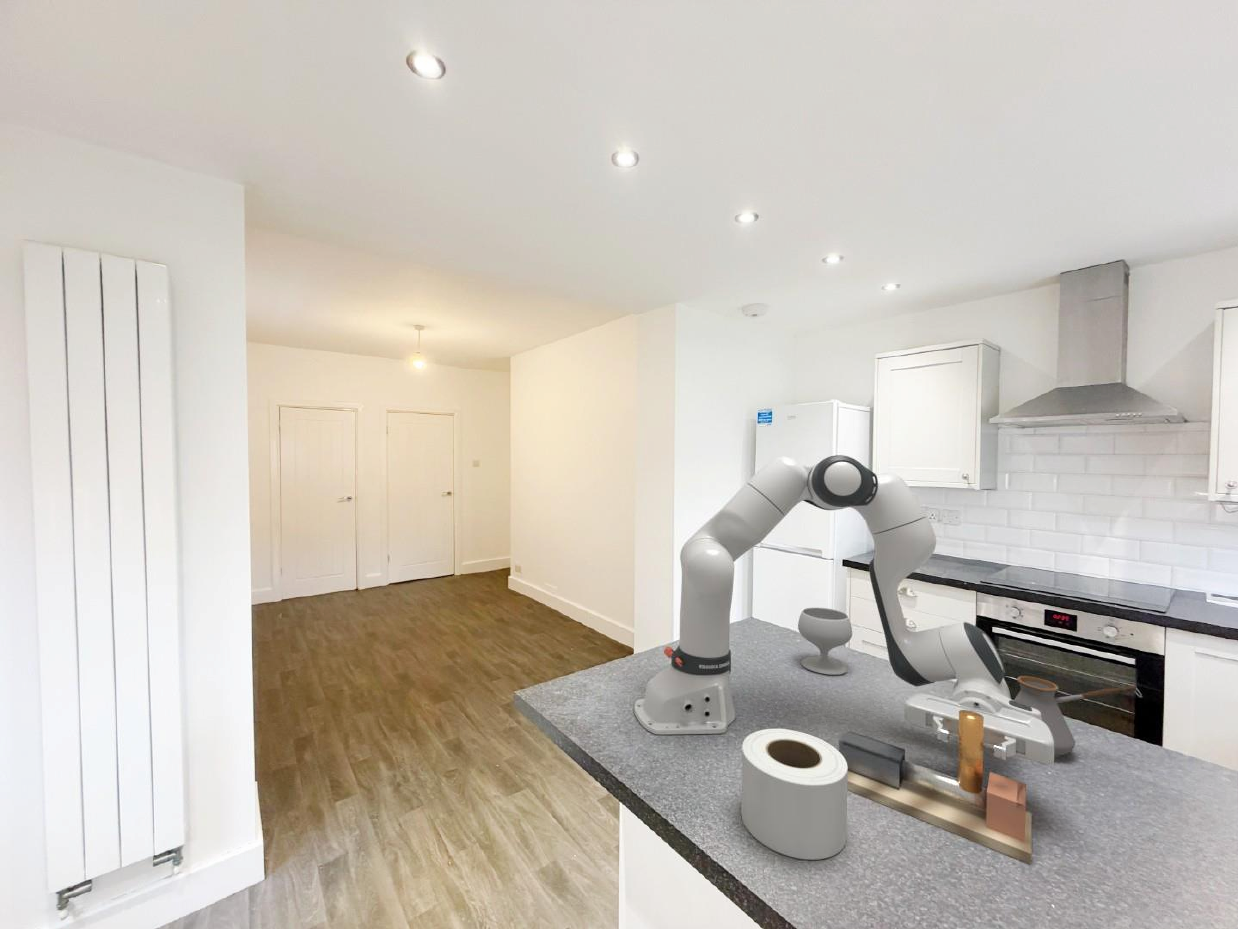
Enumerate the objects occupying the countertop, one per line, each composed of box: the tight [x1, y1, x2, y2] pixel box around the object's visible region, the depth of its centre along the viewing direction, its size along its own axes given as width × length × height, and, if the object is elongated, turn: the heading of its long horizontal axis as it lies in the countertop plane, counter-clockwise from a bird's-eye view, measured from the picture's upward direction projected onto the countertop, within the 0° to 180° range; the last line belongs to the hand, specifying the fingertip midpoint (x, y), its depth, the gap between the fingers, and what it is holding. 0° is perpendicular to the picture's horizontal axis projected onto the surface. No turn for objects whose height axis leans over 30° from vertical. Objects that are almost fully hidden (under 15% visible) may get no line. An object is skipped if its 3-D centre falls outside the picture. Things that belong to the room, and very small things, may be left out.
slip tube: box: [900, 710, 987, 811], centre depth 80 cm, size 16×3×14 cm, turn 50°
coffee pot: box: [1013, 675, 1143, 758], centre depth 98 cm, size 21×12×15 cm, turn 67°
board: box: [847, 771, 1032, 865], centre depth 82 cm, size 27×11×2 cm, turn 50°
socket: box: [986, 771, 1027, 842], centre depth 76 cm, size 4×7×5 cm
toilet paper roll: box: [740, 728, 848, 861], centre depth 77 cm, size 16×15×11 cm
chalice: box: [797, 607, 853, 676], centre depth 138 cm, size 14×14×15 cm
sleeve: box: [838, 729, 906, 790], centre depth 88 cm, size 10×5×5 cm, turn 50°
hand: (970, 744), depth 78 cm, fingers open, 6 cm apart
